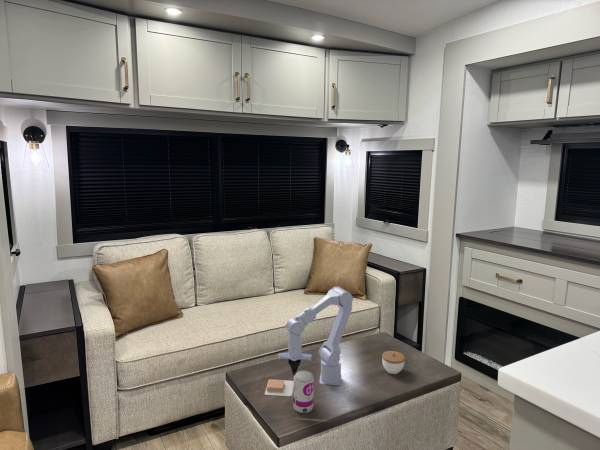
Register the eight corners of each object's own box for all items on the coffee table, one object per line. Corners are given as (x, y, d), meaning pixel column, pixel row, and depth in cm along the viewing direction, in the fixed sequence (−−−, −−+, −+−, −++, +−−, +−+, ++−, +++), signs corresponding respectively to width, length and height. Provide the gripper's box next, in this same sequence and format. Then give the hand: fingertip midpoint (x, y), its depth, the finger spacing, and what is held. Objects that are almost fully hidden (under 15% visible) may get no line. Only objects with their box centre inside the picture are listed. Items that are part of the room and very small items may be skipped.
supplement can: (317, 409, 167) (317, 376, 165) (300, 416, 163) (301, 382, 160) (305, 400, 174) (306, 367, 171) (289, 406, 169) (289, 373, 167)
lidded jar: (392, 379, 191) (393, 360, 189) (376, 368, 200) (377, 351, 198) (408, 372, 197) (409, 354, 195) (392, 363, 206) (393, 345, 204)
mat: (294, 382, 187) (294, 380, 187) (291, 397, 176) (291, 396, 176) (268, 380, 188) (268, 379, 188) (264, 395, 177) (264, 394, 177)
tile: (284, 380, 185) (269, 379, 185) (282, 388, 179) (266, 387, 179) (284, 384, 185) (269, 383, 185) (282, 391, 179) (266, 390, 180)
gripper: (277, 349, 175) (277, 378, 177) (310, 350, 173) (310, 380, 176) (279, 341, 182) (279, 369, 184) (311, 343, 180) (311, 371, 183)
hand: (294, 374), depth 180 cm, fingers closed
